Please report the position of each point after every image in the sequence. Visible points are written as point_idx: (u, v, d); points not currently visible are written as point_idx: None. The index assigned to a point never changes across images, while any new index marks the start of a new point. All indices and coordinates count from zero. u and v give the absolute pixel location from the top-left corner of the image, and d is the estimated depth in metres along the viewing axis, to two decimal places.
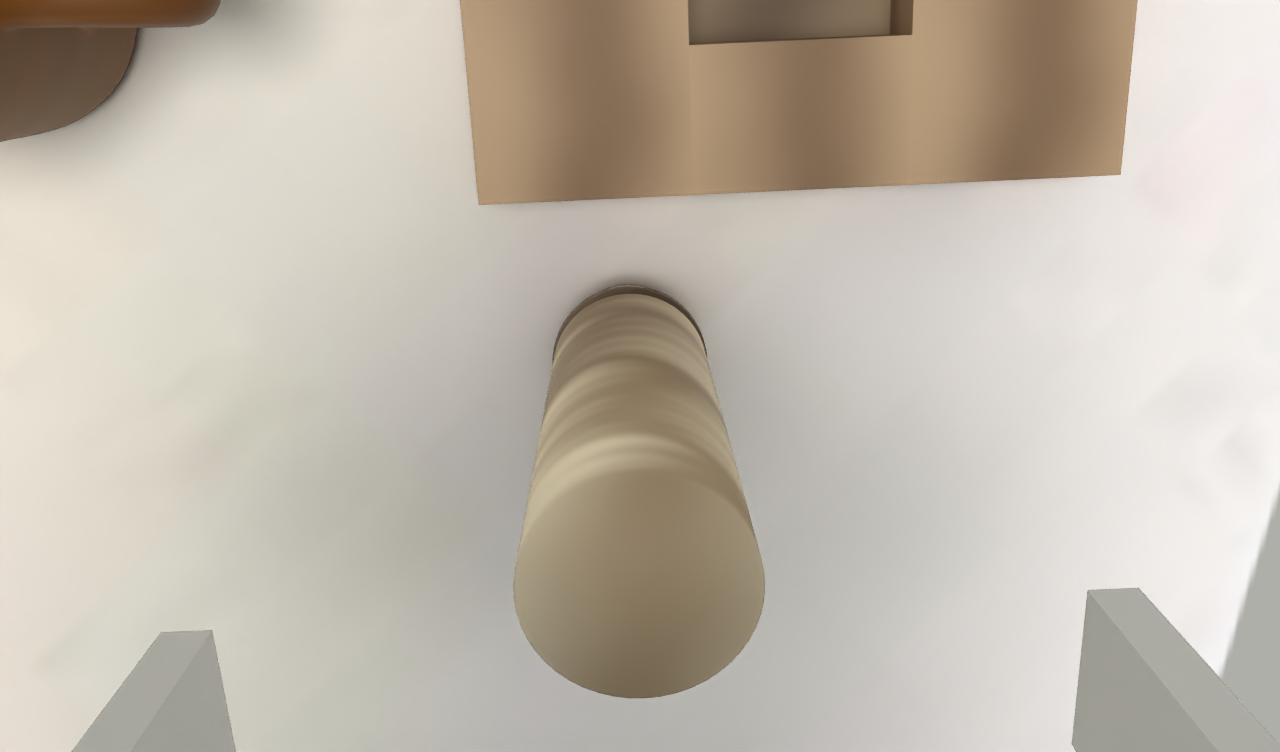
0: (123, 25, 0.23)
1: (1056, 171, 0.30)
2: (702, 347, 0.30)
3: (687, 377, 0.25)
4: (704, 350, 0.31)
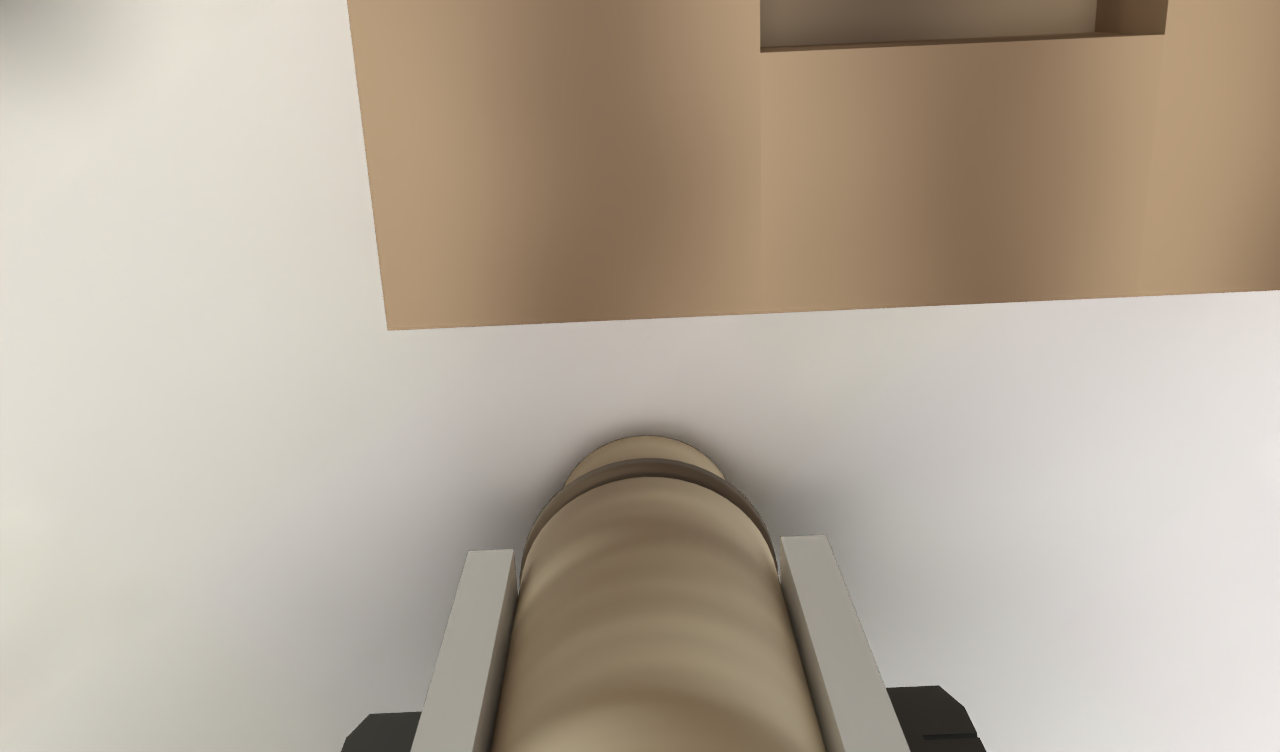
0: None
1: None
2: (776, 577, 0.17)
3: (775, 746, 0.12)
4: (777, 575, 0.18)
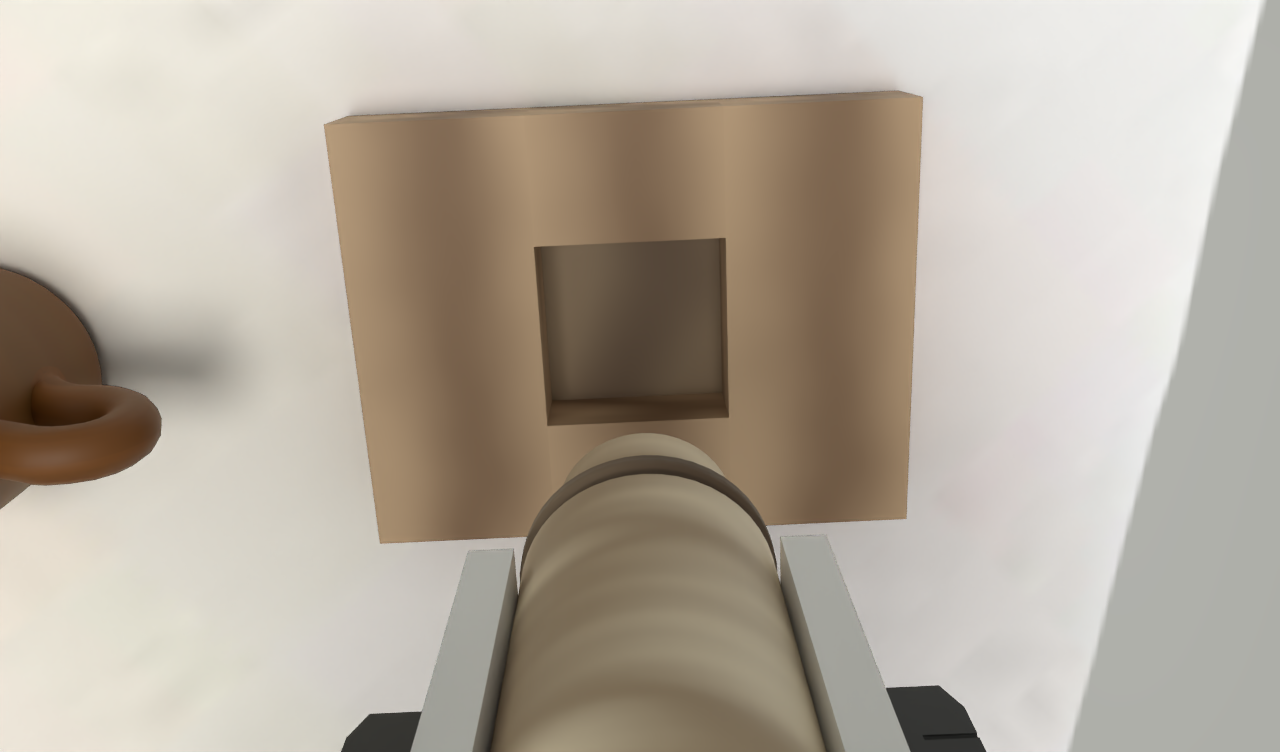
0: None
1: (852, 516, 0.36)
2: (775, 574, 0.17)
3: (774, 739, 0.12)
4: (776, 571, 0.18)
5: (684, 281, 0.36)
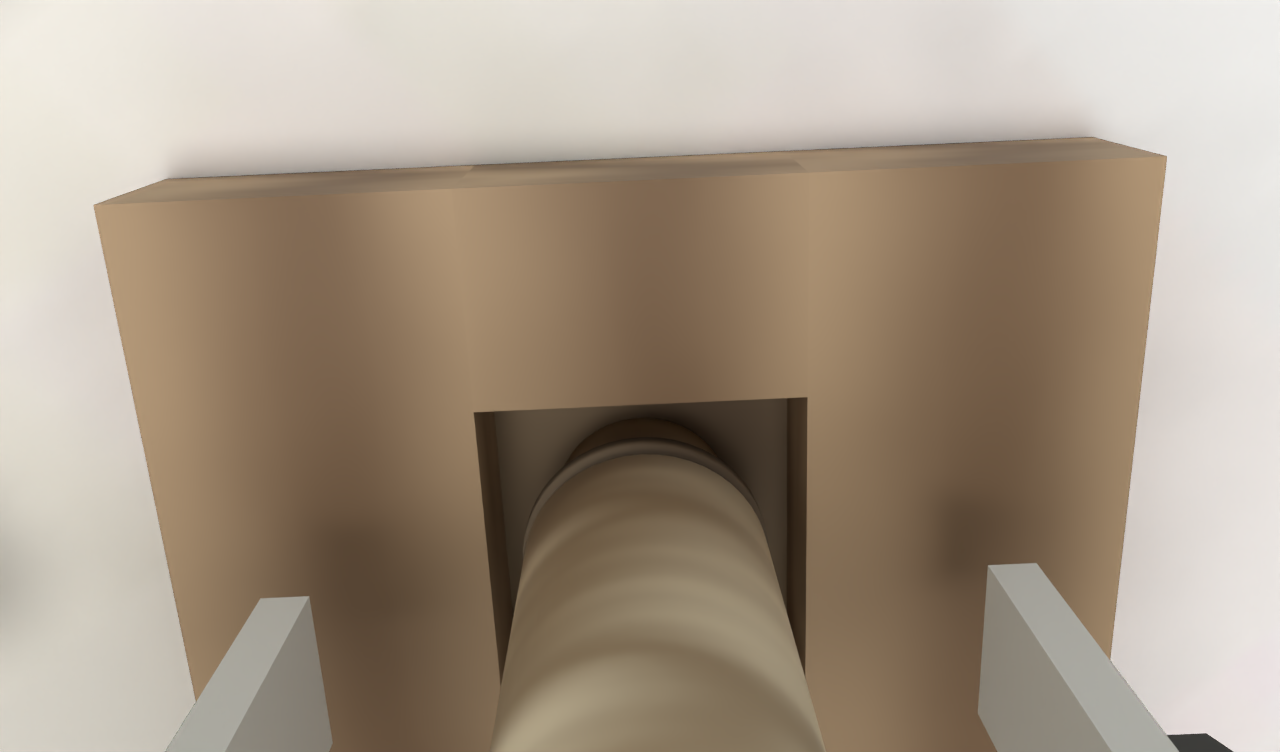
0: None
1: None
2: (766, 549, 0.18)
3: (763, 692, 0.13)
4: (768, 547, 0.19)
5: (729, 446, 0.22)
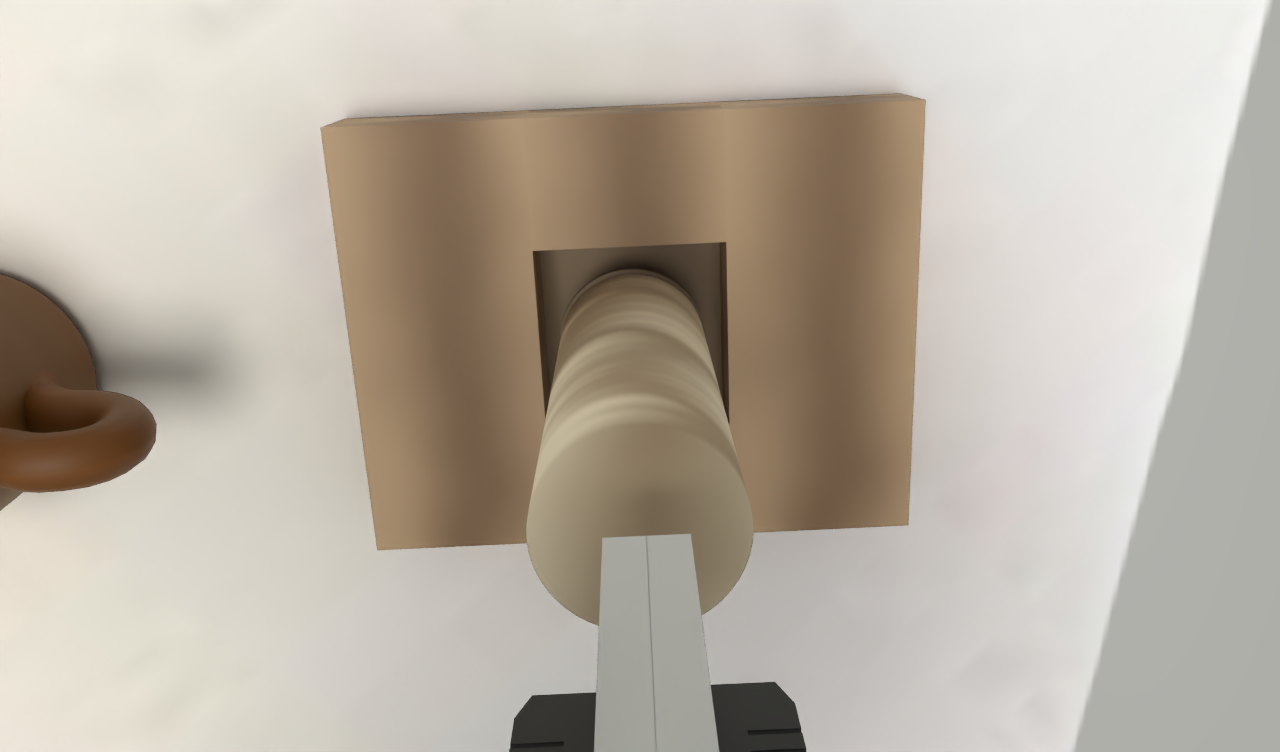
0: None
1: (854, 523, 0.36)
2: (700, 324, 0.32)
3: (685, 347, 0.27)
4: (702, 327, 0.33)
5: (684, 285, 0.36)
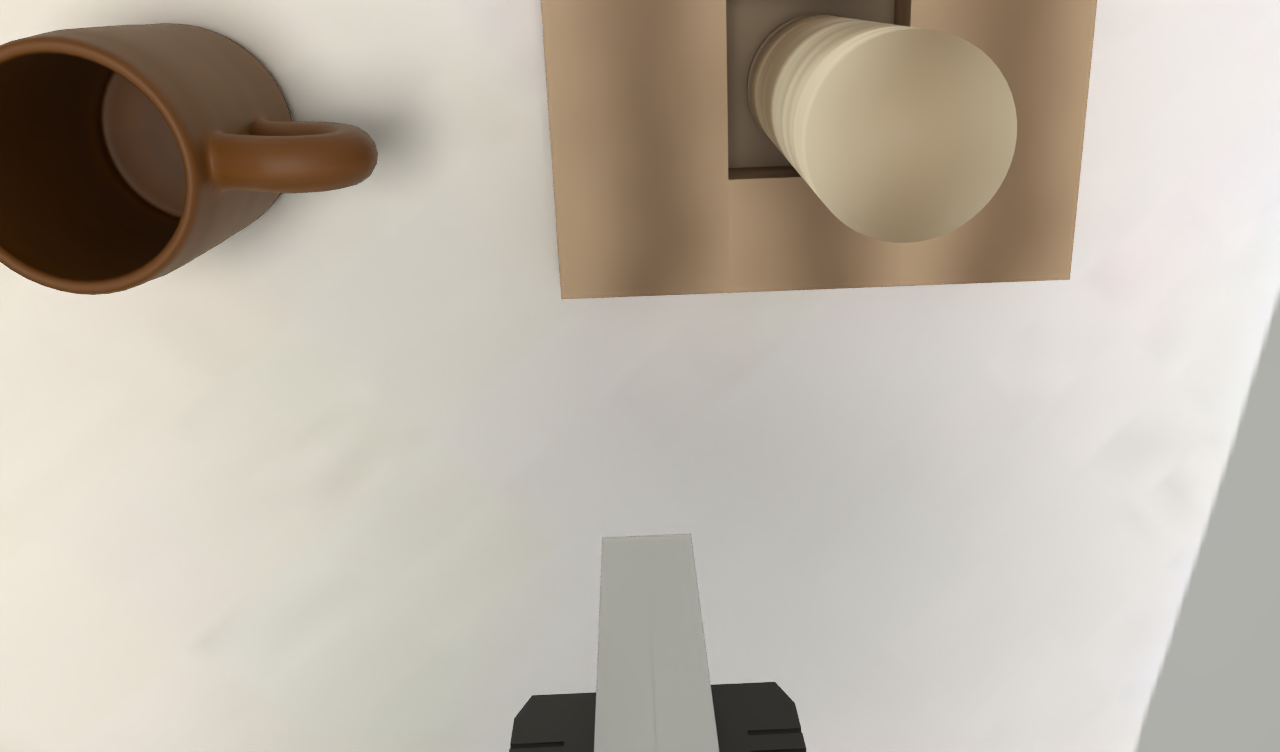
0: (313, 191, 0.31)
1: (1018, 276, 0.38)
2: None
3: None
4: None
5: None
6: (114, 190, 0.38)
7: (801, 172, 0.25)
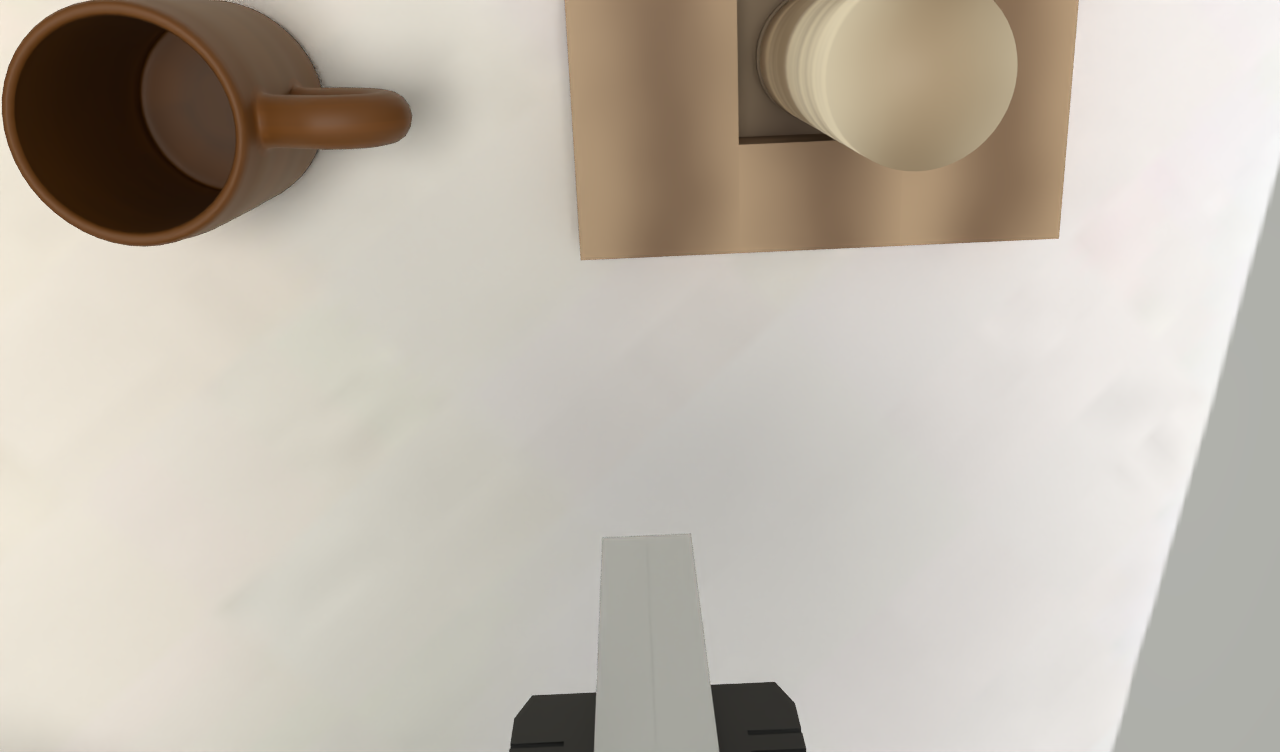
0: (354, 148, 0.33)
1: (1010, 236, 0.40)
2: None
3: None
4: None
5: None
6: (153, 159, 0.40)
7: (818, 113, 0.28)
